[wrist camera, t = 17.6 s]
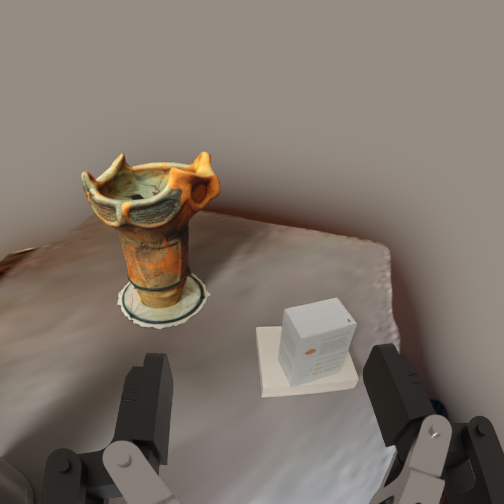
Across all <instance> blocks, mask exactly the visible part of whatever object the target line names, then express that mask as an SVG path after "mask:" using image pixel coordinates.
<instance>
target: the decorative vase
mask: <svg viewBox="0 0 504 504" xmlns="http://www.w3.org/2000/svg"><path fill="white" fill-rule="evenodd" d="M81 181H82V186H83V188H84V191H85V194H86V196H87V199H88V201H89V203H90V205H91V206H92V208H93V210H94V212H95V213H96V215H97V216H98V217H99V218H100V219H101V220H102V221H103V222H105V223H106V224H108V225H110V226H112V227H113V228H115V229H116V230H117V231H118V235H119V238H120V240H121V242H122V248H123V252H124V256H125V258H126V262H127V268H128V271H129V273H128V279H129V281H130V282H128V284H127V285H126V286H124V289H122V290H121V292H119V295H118V297H119V300H118V303H117V305H118V304H119V305H121V306H122V307H121V308H122V309H121V311H122V312H124V315H125V317H126V316H128V319H129V320H133V323H136V324H139V325H140V326H141V327H154V328H157V329H162V328H164V327H171V326H172V325H174V326H177V325H178V324H181V323H185V322H186V321H187V320H188V319H189V318H190V317H191V316H193V315H195V314H197V313H198V312H199V310H200V309H201V308H202V307H203V304H204V303H206V302H207V301H206V298H207V296H210V294H209V292H208V291H207V290H206V289H205V288H206V286H205V284H203V283H202V280H201V279H198V277H197V276H196V275H195V274H193V273H191V271H190V268H189V265H188V262H189V261H188V239H189V234H188V222H189V220H190V219H191V218H192V217H193V216H194V215H195V214H196V213H197V212H198V211H199V210H201V209H203V208H204V207H205V206H206V205H207V204H208V203H209V202H210V201H211V200H212V199H213V198H215V197H217V196H218V195H219V193H220V183H219V179H218V177H217V176H216V175H215V173H214V172H213V170H212V168H211V155H210V154H209V153H207V152H202V153H201V154H200V155H199V156H198V157H197V158H196V160H195V161H194V163H193V164H191V165H190V164H184V163H173V162H160V163H148V164H142V165H137V166H129V165H128V164H127V163H126V160H125V156H124V154H123V153H122V154H121V155H120V156H118V158H117V159H116V160H115V161H114V162H113V164H112V165H111V167H110V168H109V169H108V170H107V171H105V172H104V173H103V174H102V175H101V176H100V177H99V178H97V179H96V180H95V178H94V177H93V176H92V175H91V174H90V173H89V172H87V171H85V172H83V173H82V175H81Z"/></svg>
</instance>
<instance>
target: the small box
mask: <svg viewBox="0 0 504 504" xmlns="http://www.w3.org/2000/svg"><path fill="white" fill-rule="evenodd" d="M356 326H357V323H356V322H355V320H354V319H353V318H352V316H351V315H350V314H349V312H348V311H347V310H346V308H345V307H344V306H343V304H342V303H341V302H340V301H339V299H338V298H337V297H335V298H331V299H327V300H323V301H318V302H314V303H309V304H305V305H300V306H296V307H291V308H286V309H284V315H283V323H282V330H281V338H280V345H279V352H278V362H279V364H280V366H281V368H282V370H283V372H284V374H285V377H286V379H287V381H288V383H289V385H290V387H295V386H298V385H302V384H305V383H308V382H312V381H315V380H318V379H321V378H324V377H327V376H330V375H334V374H337V373H339V372H340V370H341V368H342V365H343V363H344V360H345V357H346V354H347V352H348V349H349V346H350V344H351V341H352V338H353V335H354V332H355V329H356Z"/></svg>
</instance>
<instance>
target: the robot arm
mask: <svg viewBox="0 0 504 504" xmlns="http://www.w3.org/2000/svg"><path fill="white" fill-rule="evenodd" d="M363 381H364V384H365V387H366V390H367V392H368V395H369V398H370V401H371V404H372V407H373V410H374V413H375V416H376V419H377V421H378V424H379V428H380V431H381V434H382V437H383V440H384V443H385V446H386V447H389V446H392V445H395V446H396V449H397V450H396V451H395V453H394V455H393V458H392V460H391V463H390V465H389V468H388V470H387V472H386V475H385V477H384V479H383V481H382V484H381V486H380V488H379V490H378V491H377V493H376V494H375V495H374V496H373V498H372V499H371V501H370V502H369V504H439V501H440V498H441V495H442V492H443V489H444V490H445V494H446V498H447V502H448V504H504V453H503V451H502V448H501V445H500V443H499V440H498V437H497V435H496V433H495V430H494V428H493V425H492V423H491V422H490V421H489V420H488V419H487V418H485V417H483V416H476V417H474V418H472V419H471V420H470V422H469V423H449V421H448V420H447V419H446V418H444V417H442V416H440V415H437V414H436V412H435V411H434V408H433V406H432V404H431V402H430V399H429V397H428V395H427V393H426V391H425V389H424V387H423V385H422V383H421V380H420V378H419V376H418V375H417V372H416V370H415V368H414V366H413V363H412V362H411V361H410V360H409V359H408V358H407V357H406V356H405V355H399V353H398V351H397V349H396V347H395V346H394V344H392V343H389V344H382V345H375V346H374V347H373V348H372V351H371V353H370V355H369V358H368V360H367V362H366V364H365V366H364V369H363ZM172 396H173V378H172V374H171V370H170V366H169V362H168V357H167V355H166V354H156V353H147V354H146V356H145V360H144V365H143V367H135V366H133V368H132V369H131V371H130V372H129V373H128V375H127V376H126V379H125V383H124V388H123V393H122V397H121V402H120V407H119V412H118V418H117V423H116V428H115V434H114V437H113V440H112V441H111V443H110V444H109V445H108V446H107V447H106V448H104V449H102V450H100V451H96V452H90V453H83V454H76V453H75V452H73V451H71V450H69V449H64V448H63V449H57V450H55V451H54V452H52V453H51V454H50V456H49V457H48V459H47V464H46V470H45V476H44V483H43V491H42V499H41V504H108V499H109V498H116V497H124V498H125V500H126V501H127V502H128V504H180V503H179V501H178V500H177V499H176V498H175V497H174V495H173V494H172V493H171V492H170V490H169V489H168V488H167V487H166V485H165V484H164V483H163V481H162V480H161V479H160V477H159V465H167V458H168V443H169V430H170V418H171V406H172ZM469 460H470V463H471V466H472V469H473V472H472V469H471V466H470V463H469ZM473 473H474V475H473ZM474 476H475V478H474ZM475 480H476V481H475ZM0 504H34V495H33V490H32V487H31V485H30V483H29V481H28V480H27V479H26V477H25V476H24V475H23V474H22V473H21V472H19V471H18V470H17V469H15V468H14V467H13V466H11V465H10V464H9V463H7V462H6V461H5V460H4V459H2V458H1V457H0Z"/></svg>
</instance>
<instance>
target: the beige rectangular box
mask: <svg viewBox="0 0 504 504" xmlns="http://www.w3.org/2000/svg"><path fill="white" fill-rule="evenodd" d="M281 330H282V326H274V327H256V335H255V339H256V348H257V357H258V366H259V375H260V384H261V393H262V397H277V396H291V395H303V394H313V393H323V392H331V391H339V390H347V389H354V388H355V386H356V384H357V382H358V380H359V378H358V375H357V373H356V370H355V367H354V364H353V361H352V359H351V356H350V353H349V350H348V352H347V354H346V357H345V360H344V363H343V365H342V368H341V370H340V372H339V373H337V374H334V375H330V376H327V377H324V378H321V379H318V380H315V381H312V382H308V383H305V384H302V385H298V386H295V387H290V385H289V383H288V381H287V379H286V377H285V374H284V372H283V370H282V368H281V366H280V364H279V362H278V352H279V345H280V338H281Z"/></svg>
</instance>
